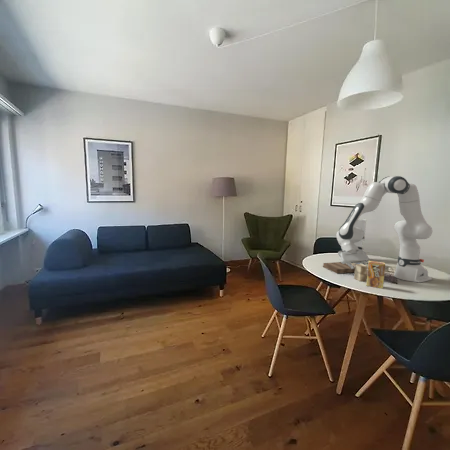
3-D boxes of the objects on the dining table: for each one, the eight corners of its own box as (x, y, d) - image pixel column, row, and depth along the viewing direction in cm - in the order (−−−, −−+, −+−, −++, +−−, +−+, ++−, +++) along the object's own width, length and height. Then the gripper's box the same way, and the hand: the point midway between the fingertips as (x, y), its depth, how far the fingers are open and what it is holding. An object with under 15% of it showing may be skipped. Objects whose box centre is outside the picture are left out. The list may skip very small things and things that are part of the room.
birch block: (360, 278, 173) (361, 263, 172) (366, 280, 168) (367, 265, 167) (354, 278, 172) (355, 264, 171) (359, 281, 167) (360, 266, 166)
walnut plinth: (341, 265, 201) (341, 261, 201) (356, 272, 186) (356, 268, 185) (323, 266, 197) (323, 263, 197) (336, 273, 182) (337, 269, 182)
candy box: (382, 286, 158) (385, 262, 156) (383, 288, 155) (385, 264, 153) (366, 283, 163) (368, 260, 160) (366, 286, 159) (368, 262, 157)
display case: (362, 262, 212) (366, 220, 207) (348, 260, 217) (351, 219, 212) (361, 258, 222) (365, 218, 217) (348, 257, 227) (351, 217, 222)
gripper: (339, 248, 174) (348, 266, 166) (364, 247, 179) (374, 265, 171) (334, 253, 179) (343, 271, 171) (359, 252, 184) (368, 269, 176)
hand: (359, 268), depth 171 cm, fingers open, 8 cm apart
